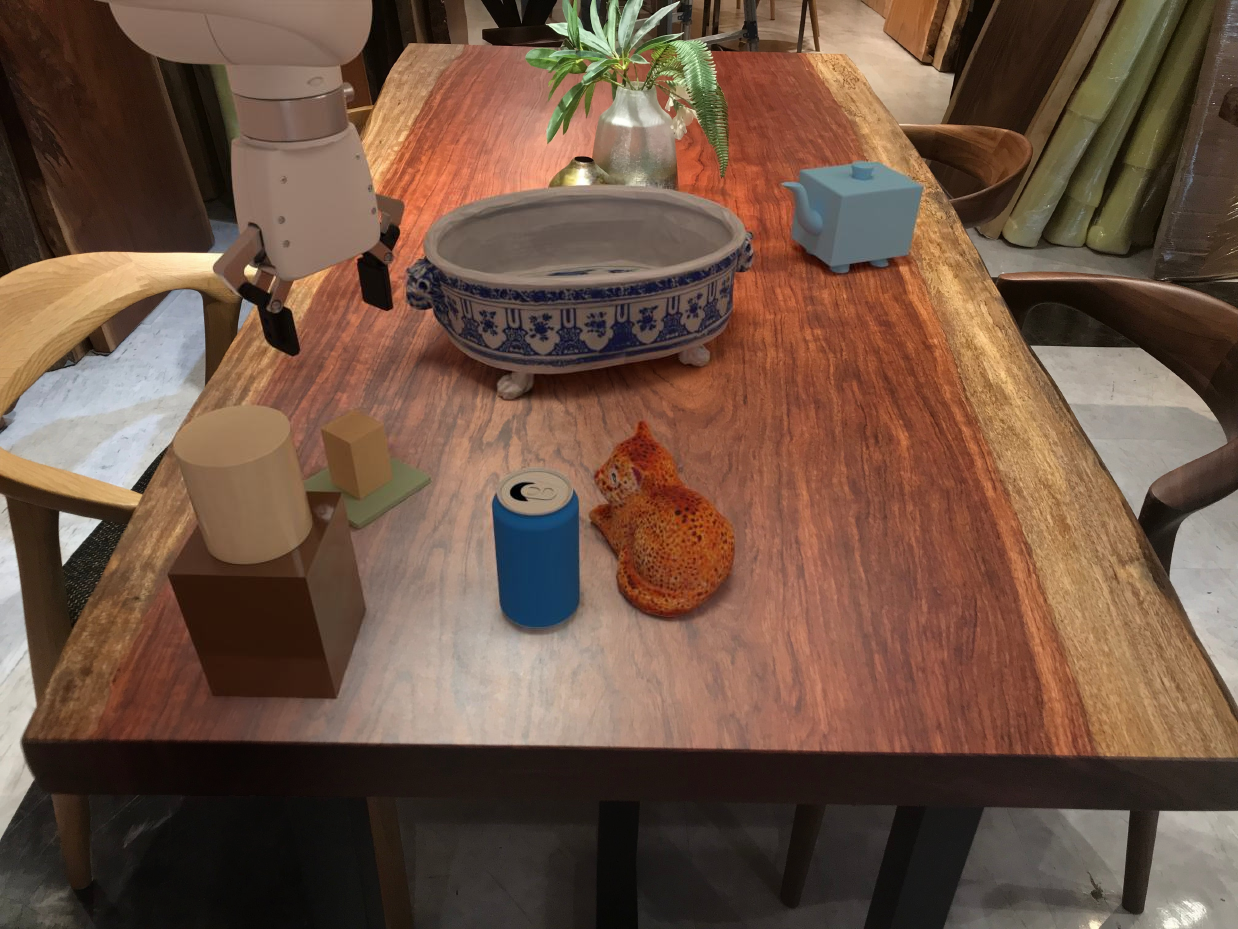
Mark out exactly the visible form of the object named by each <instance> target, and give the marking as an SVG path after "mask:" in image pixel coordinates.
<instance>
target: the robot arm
mask: <svg viewBox="0 0 1238 929" xmlns="http://www.w3.org/2000/svg"><path fill="white" fill-rule="evenodd" d="M95 1H97V2H103V3H107V4H108V5H109V8H110V12H111V13H112V15H113V18H114V20H115V21H116V23H117V25H118V26H119V27H120V29H121V31H122V32H123V33H124V34H125V35H126V36H127V37H128V39H129V40H131V41H132V42H133V43H134V44H135V45H136V46H138V47H139V48H140V49H141V50H143V51H144V52H146V53H148V54H150V55H152V56H154V57H158V58H160V59H164V60H166V61H169V62H170V61H171V62H175V63H181V64H191V65H192V64H193V65H195V64H196V65H223V66H225V70H226V74H227V79H228V83H229V88H230V92H231V97H232V101H233V105H234V109H235V114H236V118H237V123H238V127H239V133H240V136H238V137H235V138H234V139H231V146H230V147H231V148H230V150H231V151H230V152H231V153H230V165H231V169H230V170H231V182H232V183H231V184H232V194H233V201H234V208H235V215H236V216H235V217H236V222H237V227H238V233H239V236H238V238H236V240H235V241H234V242H233V243H232V244H231V245H230V246H229V247H228V248H227V249H226V250H225V251H224V252H223V253H222V254H221V256H220V257H219V258H218V259H217V260H216V261H214V263H213V265H212V271H213V273H214V274H215V275H216V277H217V278H218V279H219V280H220V281H221V282H222V283H223V284H224V285H225V286H226V287H228V289H229V291H230V292H231V293H232V294H233V295H234V296H237V297H239V298H241V299H243V300H245V301H247V302H249V303H250V304H252V305H255V306H256V308H257V312H258V316H259V320H260V323H261V324H260V325H261V328H262V333H263V337H264V339H265V341H266V343H267V344H268V345H270V347H272V348H273V349H275V350H278V351H280V352H281V353H284V354H286V355H288V356H289V357H293V358H294V357H296V356H298V355H299V354H300V352H301V346H300V342H299V337H298V332H297V328H296V324H295V319H294V314H293V311H292V309H291V308H289V307H287V306H285V303H286V301H287V299H288V296H289V294H290V291H291V289H292V287H293V284H294V282H295V281H299V280H302V279H305V278H307V277H310V276H312V275H314V274H317V273H320V272H323V271H324V270H327V269H330V268H333V267H334V266H337V265H339V264H342V263H344V262H346V261H349V260H352V259H355V258H356V257H357V258H356V260H357V263H356V268H357V274H358V280H359V285H360V292H361V297H362V301H363V302H364V303H365V304H367V305H369V306H372V307H374V308H377V309H379V310H382V311H385V312H390V311H391V310H393V309H394V302H393V293H392V291H393V290H392V284H391V277H390V270H389V265H391V264H392V263H393V262H394V258H395V256H394V255H395V254H394V252H393V250H394V249H395V246H396V245H397V243H398V240H399V239H400V235H401V228H400V226H401V225H402V222H403V221H402V220H403V216H404V211H405V202H404V201H403V200H400V199H397V198H395V197H391V196H387V195H384V194H380V193H376V192H375V186H374V181H373V176H372V173H371V169H370V166H369V163H368V159H367V155H366V151H365V149H364V146H363V143H362V141H361V138H360V135H359V133H358V130H357V128H356V125H355V124H354V123H352V122H351V121H350V120H349V113H348V107H347V103H349V102H352V101H354V100H355V89H354V87H353V85H352V84H351V83H350V82H347V81H345V82H344V81H343V75H342V68H341V66H344V65H347V64H349V63H350V62H351V61H353V60H354V59H356V58H357V57H358V56H359V54H360V53H361V52H362V51H363V49H364V48H365V45H366V44H367V42H368V39H369V36H370V33H371V26H372V21H373V0H95ZM379 212H380V213H379ZM360 255H361V256H360ZM358 256H360V257H358ZM248 265H249V267H251V268H253V269H257V270H256V272H255V273H254V274H255V275H254V276H253V279H252V282H250V280H249V279H248V277H247V276H246V275H245V269H246V268H247V266H248ZM273 280H274V281H273ZM272 282H273V283H272ZM271 284H272V286H271Z"/></svg>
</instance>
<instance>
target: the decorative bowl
mask: <svg viewBox="0 0 1238 929" xmlns="http://www.w3.org/2000/svg"><path fill="white" fill-rule="evenodd" d="M753 239H754V232H753V231H747V230H746V227H745V224H744V222H743V221H742V220H741V219H740V217H739V216H738V215H737V214H736V213H735V212H733V211H732V210H731V209H730V208H728V207H726V206H724V205H722V204H721V203H718V202H716V201H714V200H711V199H708V198H704V197H702V196H699V195H696V194H692V193H688V192H683V191H679V190H675V189H669V188H662V187H653V186H646V185H628V184H624V185H623V184H579V185H577V184H576V185H567V186H566V185H565V186H562V185H561V186H553V187H543V188H535V189H526V190H520V191H514V192H509V193H502V194H497V195H491V196H489V197H485V198H481V199H478V200H474V201H471V202H468V203H466V204H462V205H459V206H457V207H456V208H454V209H452V210H450V211H448V212H446V213H445V214H443V215H442V216H440V217H439V218H438V219H436V221H434V222H433V223H432V224H431V226H430V227H429V228H428V231H427V233H426V235H425V237H424V239H423V243H422V245H423V247H422V248H423V249H422V250H423V253H424V257H423V258H418V259H417V260H416V261H415V262H414V263H413V264H412V266H410V267H408V268H406V269H405V273H406V275H407V277H408V278H407V279H406V280H405V281H404V286H405V299H404V302H405V303H406V304H408V305H409V307H410V308H412V309H415V310H417V311H427V310H432V313H433V315H434V318H435V320H436V321H437V322H438V323H439V325H441V327H442V328H443V330H444V332H445V335H446V336H447V339H449V341H450V342H451V343H452V344H453V345H454V346H455V347H456V348H457V349H458V350H460V351H461V352H462V353H464V354H466V355H467V356H468V357H469V358H471V359H473V360H476V361H477V362H481V363H483V364H485V365H487V366H491V367H493V368H497V369H502V370H505V371H512V372H510V373H508V374H505V375H503V376H501V377H500V379H498V380H497V382H496V390H497V394H498V397H502V398H503V400H509V401H510V400H511V401H512V400H514V399H516V398H518V397H521V396H522V395H523V394H524V393H527V392H529V391H530V390H531V389H533V387H534V378H535V374H537V375H538V374H540V375H541V374H543V375H554V374H556V375H557V374H569V373H575V372H576V373H577V372H582V371H590V370H597V369H602V368H608V367H613V366H618V365H625V364H630V363H637V362H643V361H649V360H655V359H661V358H664V357H669V356H671V355H674V354H678V355H677V357H678V360H679V361H680V362H681V363H682V364H683V365H688V364H691V365H692V366H694V367H701V368H702V367H705V366H707V365H708V364H709V361H710V358H711V352H710V351H709V350H708V349H707V348H706V347H705V345H704V344H706V343H708V342H710V341H712V340H714V339H715V338H716V337H718V336H719V335H721V333H723V332H724V331H725V330H726V329H727V325H728V323H729V321H730V317H731V315H732V313H733V308H734V287H735V278H736V273H738V274H739V273H746V272H747V271H750V269H751V267H752V265H753V263H754V261H755V260H754V254H755V251H756V250H755V249H754V248H753V246H752V244H751V241H752V240H753Z"/></svg>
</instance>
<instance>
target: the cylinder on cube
mask: <svg viewBox="0 0 1238 929" xmlns="http://www.w3.org/2000/svg"><path fill="white" fill-rule="evenodd" d="M295 442H296V441H295V438H294V434H293V429H292V424H291V422H290V420H289V418H288V417H287V416H286V415H285V414H284V413H283V412H281V411H280V410H278V409H276V408H273V407H269V406H265V405H259V404H239V405H231V406H230V405H229V406H225V407H221V408H218V409H214V410H211V411H208V412H206V413H203V414H201V415H199V416H197V417H194V418H193V419H192V420H190V421H189V422H187V423H186V424H185V425H183V427H181V428H180V429H179V431H178V432H177V433H176V435H175V437H174V439H173V442H172V443H173V444H172V448H173V452H174V454H175V458H176V461H177V464H178V467H179V470H180V474H181V476H182V480H183V483H184V485H185V488H186V491H187V494H188V497H189V500H190V503H191V506H192V509H193V512H194V516H195V519H196V521H197V524H196V526H195V527H194V529H193V530H192V532H191V534H190V536H189V537H188V539H187V541H186V542H185V543H184V545H183V546H182V548H181V550H180V551H179V553H178V555H177V556H176V558H175V560H174V561H173V563H172V565H171V566H170V568H169V569H168V571H167V573H166V575H167V578H168V581H169V584H170V586H171V589H172V592H173V594H174V597H175V599H176V601H177V605H178V608H179V610H180V612H181V615H182V618H183V621H184V623H185V626H186V628H187V631H188V634H189V637H190V640H191V642H192V644H193V646H194V650H195V652H196V655H197V658H198V660H199V663H200V667H201V669H202V671H203V674H204V676H205V679H206V681H207V684H208V687H209V690H210V693H211V694H212V696H235V697H236V696H237V697H271V698H273V697H274V698H275V697H277V698H310V699H312V698H313V699H337V697H338V694H339V691H340V688H341V686H342V682H343V679H344V678H345V674H346V671H347V669H348V668H347V667H348V666H349V662H350V659H351V656H352V653H353V649H354V646H355V644H356V641H357V638H358V635H359V632H360V629H361V626H362V624H363V620H364V617H365V614H366V611H367V606H366V600H365V597H364V596H365V595H364V590H363V585H362V581H361V577H360V572H359V567H358V562H357V557H356V552H355V547H354V542H353V538H352V532H351V526H350V524H349V522H348V517H347V512H346V507H345V502H344V498H343V493H342V492H321V491H306V489H305V485H304V481H305V480H304V476H303V473H302V468H301V464H300V460H299V456H298V452H297V447H296V443H295Z"/></svg>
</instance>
